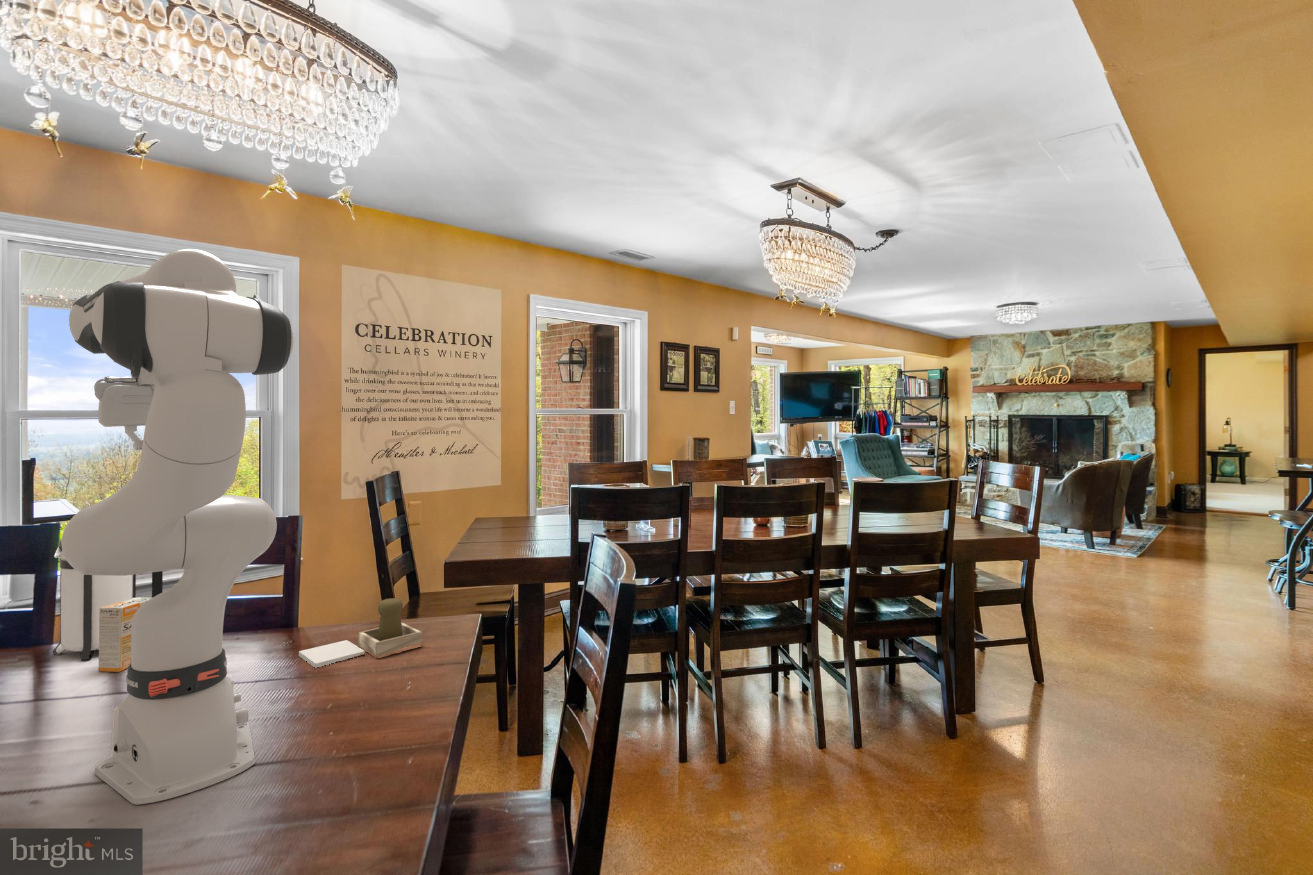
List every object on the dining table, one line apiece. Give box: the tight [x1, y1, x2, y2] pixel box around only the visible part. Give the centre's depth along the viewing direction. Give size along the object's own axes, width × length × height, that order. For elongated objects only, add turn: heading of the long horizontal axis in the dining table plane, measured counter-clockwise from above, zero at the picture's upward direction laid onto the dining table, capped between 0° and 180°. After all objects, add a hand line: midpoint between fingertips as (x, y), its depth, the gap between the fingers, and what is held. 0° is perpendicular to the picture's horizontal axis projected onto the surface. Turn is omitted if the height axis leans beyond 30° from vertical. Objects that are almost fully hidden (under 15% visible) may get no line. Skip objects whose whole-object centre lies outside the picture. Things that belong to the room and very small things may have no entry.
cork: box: [377, 597, 404, 641], centre depth 138 cm, size 6×6×11 cm
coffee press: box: [52, 539, 164, 662], centre depth 135 cm, size 17×16×30 cm
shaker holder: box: [357, 621, 423, 656], centre depth 138 cm, size 10×10×4 cm
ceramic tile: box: [298, 639, 366, 669], centre depth 132 cm, size 10×10×1 cm
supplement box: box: [98, 596, 152, 673], centre depth 126 cm, size 8×5×13 cm, turn 179°
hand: (171, 448), depth 118 cm, fingers open, 8 cm apart
